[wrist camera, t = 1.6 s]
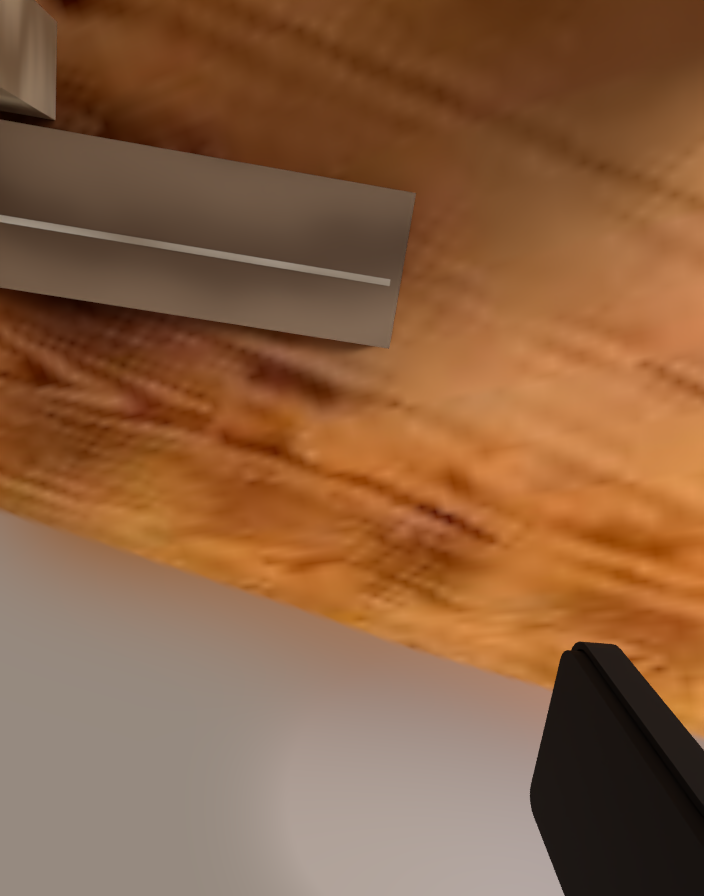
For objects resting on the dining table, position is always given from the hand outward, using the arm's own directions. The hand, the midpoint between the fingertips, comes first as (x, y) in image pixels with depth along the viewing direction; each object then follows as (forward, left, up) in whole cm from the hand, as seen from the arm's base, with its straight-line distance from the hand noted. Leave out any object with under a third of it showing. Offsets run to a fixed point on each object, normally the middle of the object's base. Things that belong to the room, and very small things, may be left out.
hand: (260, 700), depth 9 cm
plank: (-7, -9, -23) cm, 25 cm away
